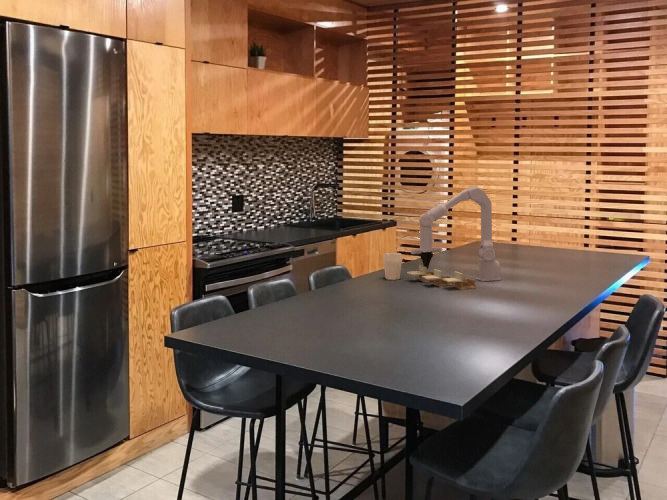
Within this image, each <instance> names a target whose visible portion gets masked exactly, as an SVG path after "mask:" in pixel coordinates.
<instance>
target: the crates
mask: <svg viewBox="0 0 667 500" xmlns="http://www.w3.org/2000/svg"><path fill="white" fill-rule="evenodd" d="M427 274H432V275H434V271H427ZM422 276H425V275H418V280H419V281H421V282H423V283H430V282H431V283H433V285H434V286H437V287H440V288H441V287H442V288H444V287H454V288H456V289H459V290H473V289H476V280H473V279H472V278H469V277H467V278H463V282H446V281H444V280H442V279H443V278H453V277H451V276H449V275H442V279H434V280H425V278H422Z"/></svg>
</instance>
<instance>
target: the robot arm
mask: <svg viewBox="0 0 667 500" xmlns="http://www.w3.org/2000/svg"><path fill="white" fill-rule="evenodd" d="M470 200H471V201H473V202H474V203H476V204H478V206H479V207H480V244H479V248H478V250H477V251H478V252H477V254H478V256H479V257H480V258H479V259H478V277H475V280H479V281H481V282H491V281H501V280H502V279H501V263H500V261H499V260H496V259H495V258H496V251H495V250H494V243H493V226H492V225H493V221H492V217H493V216H492V212H493V211H492V210H493V209H492V207H493V206H492V201H491V199H490V198H489V196H488V195H487V193H486V191H485V190H483V189H482V188H480V187H478V186H474V185H472V186H468V187H467V188H465V189H464V190H461V191H460V192H459V193H457V194H456V195H455V196H453V197H451V199H449V200H447V201H446V202H444V203H439V204H437V203H436V204H434V206H433V207H432V208H431V209H429V210H426V211H425V213H423V214H421V215H420V216H419V217H418V218H419V219H418V222H419V224H420V226H419V248H415V249H414V248H413V249H410V254H411V255H416V254H417V255H418V256H419V257H420V259H421V262H422V266H425V267H427V270H428V269H429V266H430V263H431V261H432V258H433V256H434V253H442V248H441V247H433V226H432V225H433V224H434V222H437V221H438V220H440V219H441V218H442V217H444V216H446V215H447V214H448V210H450V209H451V208H453V207H454V206H456V205H458V204H459V203H462V202H463V201H465V202H466V201H470Z"/></svg>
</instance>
